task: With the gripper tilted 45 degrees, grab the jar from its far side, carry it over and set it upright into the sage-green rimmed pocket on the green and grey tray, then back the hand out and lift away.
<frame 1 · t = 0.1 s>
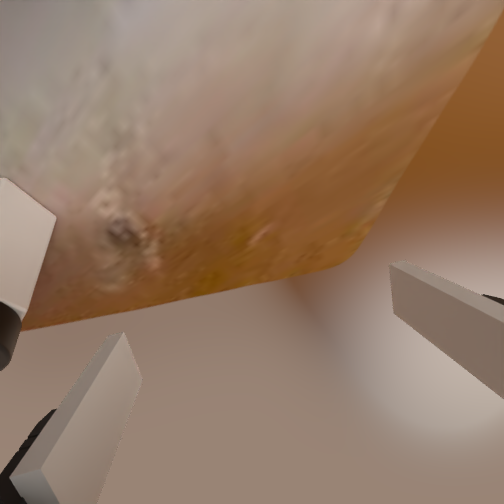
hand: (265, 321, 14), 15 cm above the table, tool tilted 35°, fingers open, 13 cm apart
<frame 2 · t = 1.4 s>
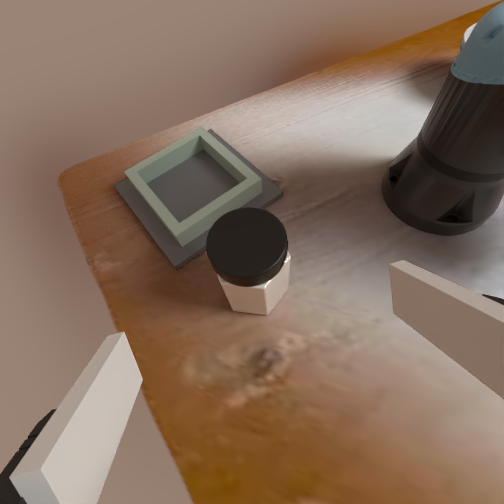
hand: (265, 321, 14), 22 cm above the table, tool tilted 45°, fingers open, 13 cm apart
green and grey tray: (196, 192, 48), on the table
jar: (255, 285, 39), on the table
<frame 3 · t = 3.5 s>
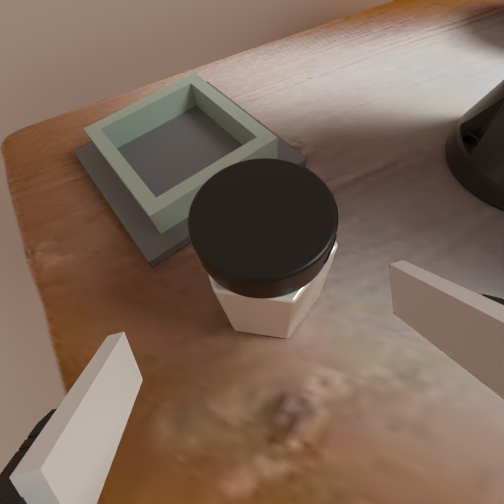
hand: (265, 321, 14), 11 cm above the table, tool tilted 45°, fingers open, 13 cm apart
green and grey tray: (185, 160, 35), on the table
jar: (267, 292, 26), on the table
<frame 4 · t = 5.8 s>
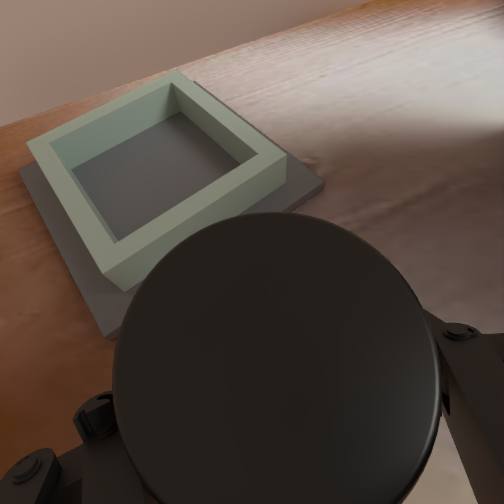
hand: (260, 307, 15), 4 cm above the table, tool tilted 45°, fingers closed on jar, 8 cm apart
green and grey tray: (164, 183, 26), on the table
jar: (273, 383, 18), on the table, touching gripper
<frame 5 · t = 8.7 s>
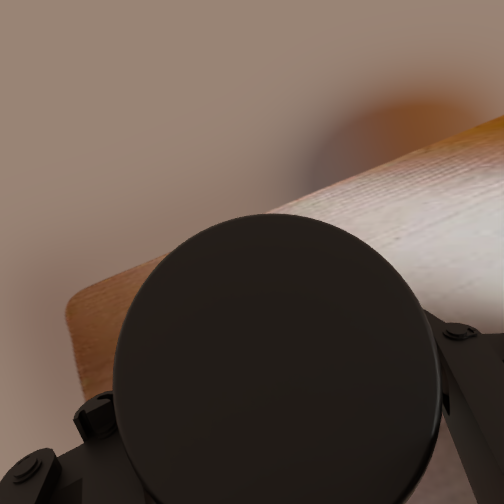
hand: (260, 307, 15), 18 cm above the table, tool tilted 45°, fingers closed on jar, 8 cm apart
jar: (273, 384, 18), point 14 cm above the table, touching gripper
when the fingers open (7 cm above the table, at t = 11.6 s): jar drops 1 cm, resting on green and grey tray.
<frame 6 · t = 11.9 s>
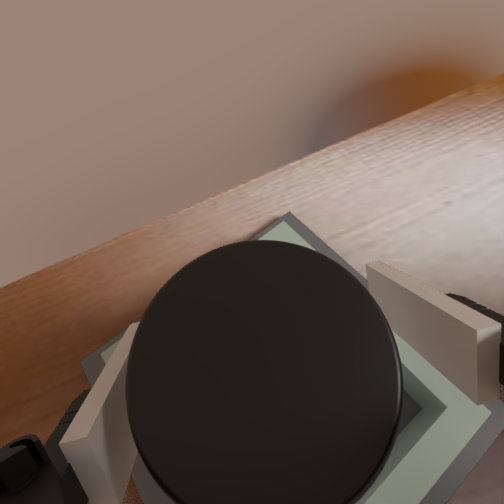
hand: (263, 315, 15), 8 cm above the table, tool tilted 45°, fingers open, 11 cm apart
green and grey tray: (278, 386, 20), on the table
jar: (270, 388, 19), point 1 cm above the table, touching green and grey tray
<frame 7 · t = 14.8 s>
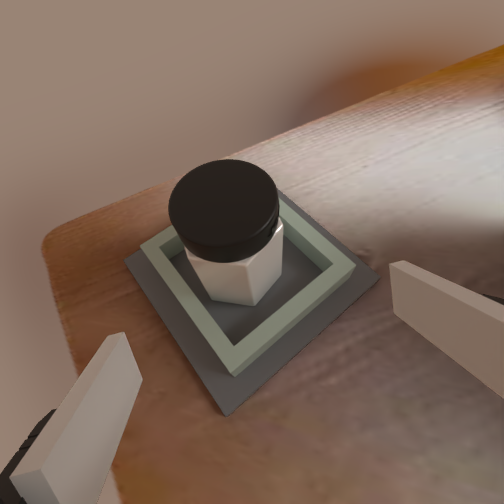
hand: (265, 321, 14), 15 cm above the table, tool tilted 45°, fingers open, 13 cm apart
green and grey tray: (246, 272, 32), on the table
jar: (240, 270, 32), point 1 cm above the table, touching green and grey tray
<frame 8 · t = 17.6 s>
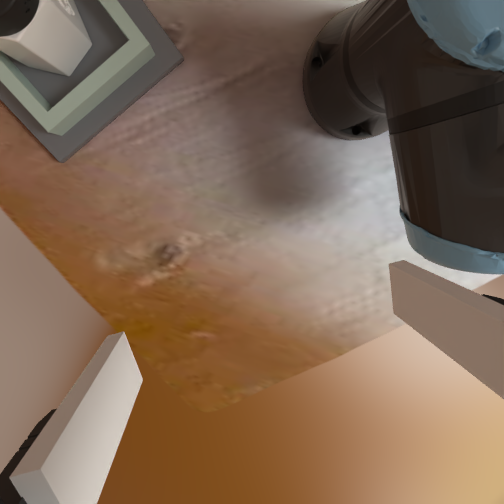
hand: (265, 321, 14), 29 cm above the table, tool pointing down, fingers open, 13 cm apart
green and grey tray: (60, 37, 34), on the table
jar: (52, 35, 33), point 1 cm above the table, touching green and grey tray
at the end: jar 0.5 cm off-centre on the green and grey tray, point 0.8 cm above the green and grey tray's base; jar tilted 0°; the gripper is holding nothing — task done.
